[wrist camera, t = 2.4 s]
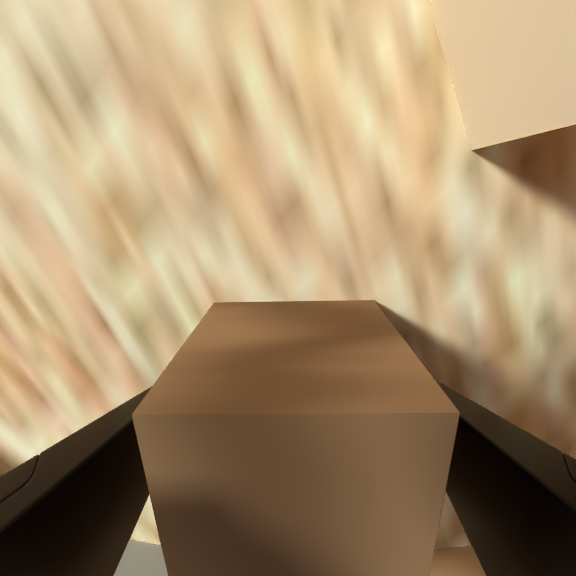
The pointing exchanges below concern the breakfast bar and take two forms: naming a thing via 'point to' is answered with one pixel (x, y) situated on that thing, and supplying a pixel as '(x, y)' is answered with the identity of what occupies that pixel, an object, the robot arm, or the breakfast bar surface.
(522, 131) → the cream cube
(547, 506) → the robot arm
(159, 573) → the slate blue cube
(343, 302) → the walnut cube
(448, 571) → the oak cube
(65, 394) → the breakfast bar surface
